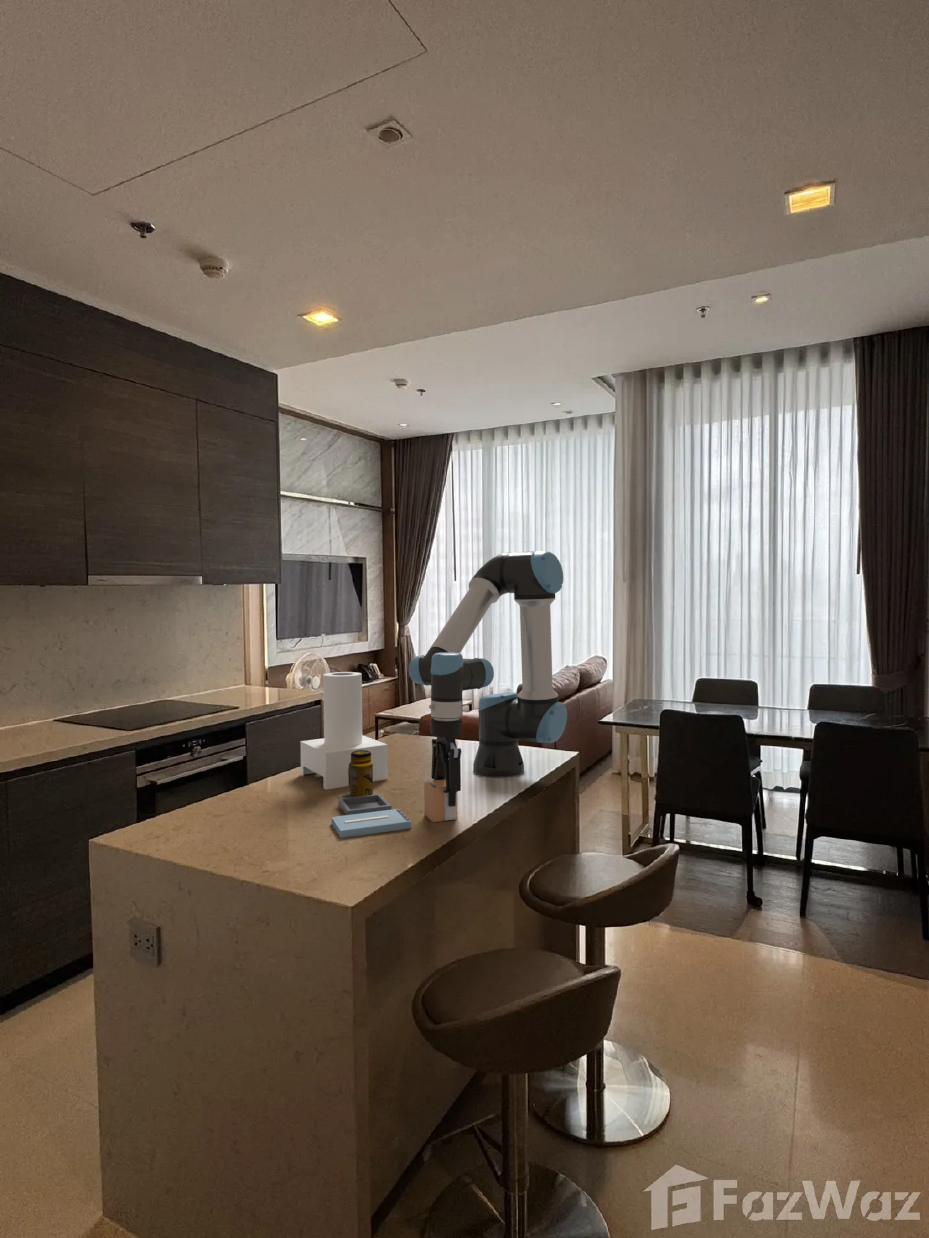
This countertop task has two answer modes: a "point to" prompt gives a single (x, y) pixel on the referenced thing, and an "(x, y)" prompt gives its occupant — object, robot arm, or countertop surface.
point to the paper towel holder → (341, 734)
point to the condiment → (360, 774)
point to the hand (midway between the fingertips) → (445, 814)
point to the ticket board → (370, 823)
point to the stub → (435, 800)
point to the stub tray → (363, 804)
